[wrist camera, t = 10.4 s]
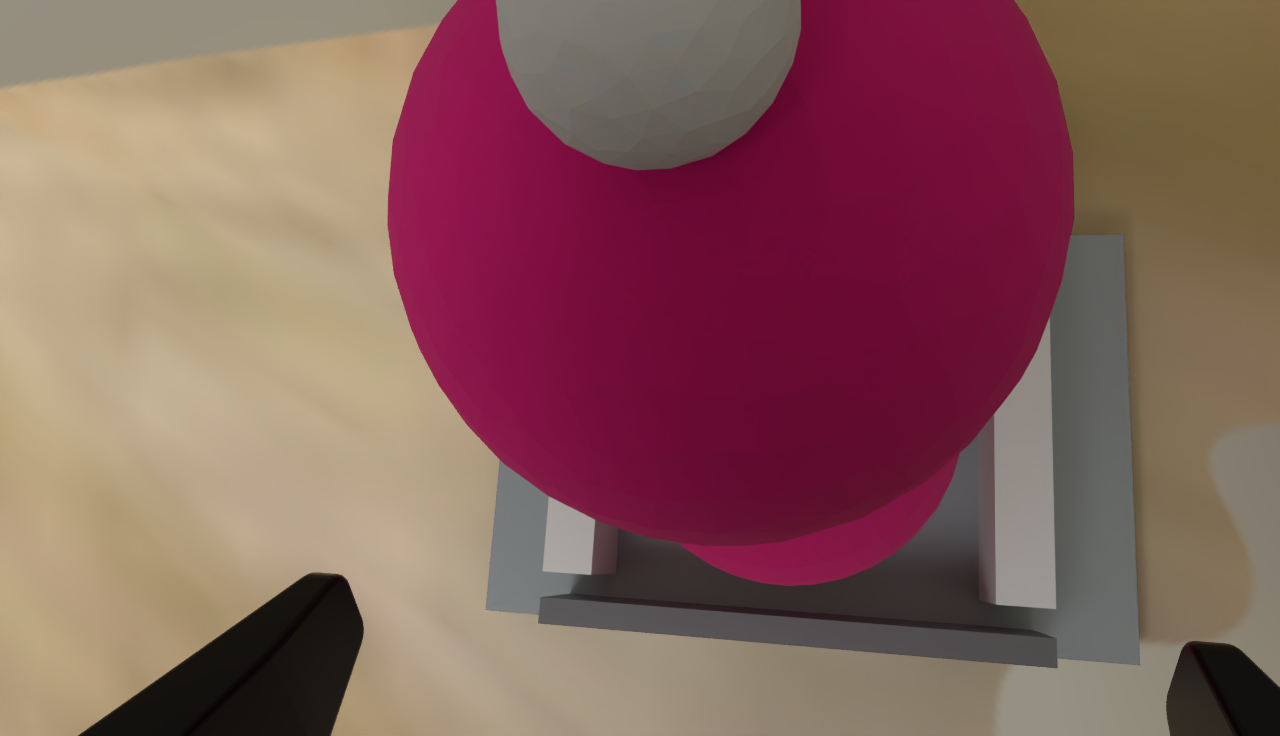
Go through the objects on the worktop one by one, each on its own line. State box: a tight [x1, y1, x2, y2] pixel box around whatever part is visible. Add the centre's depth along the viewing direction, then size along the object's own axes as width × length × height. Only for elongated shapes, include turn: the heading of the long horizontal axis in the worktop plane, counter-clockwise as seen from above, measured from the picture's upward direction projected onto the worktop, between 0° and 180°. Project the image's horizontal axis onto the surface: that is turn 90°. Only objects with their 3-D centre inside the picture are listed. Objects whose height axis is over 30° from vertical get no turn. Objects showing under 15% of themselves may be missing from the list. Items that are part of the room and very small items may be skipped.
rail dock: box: [486, 235, 1140, 668], centre depth 23 cm, size 10×16×3 cm, turn 86°
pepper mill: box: [388, 0, 1074, 586], centre depth 14 cm, size 7×7×20 cm
